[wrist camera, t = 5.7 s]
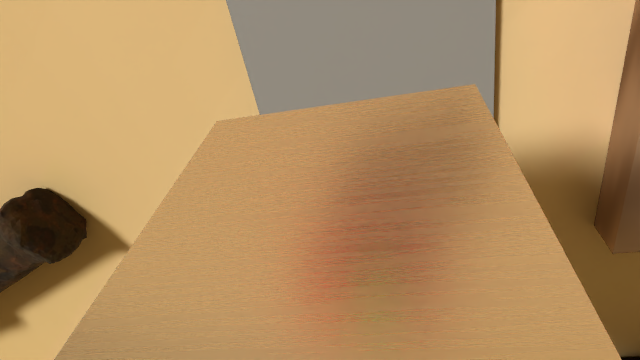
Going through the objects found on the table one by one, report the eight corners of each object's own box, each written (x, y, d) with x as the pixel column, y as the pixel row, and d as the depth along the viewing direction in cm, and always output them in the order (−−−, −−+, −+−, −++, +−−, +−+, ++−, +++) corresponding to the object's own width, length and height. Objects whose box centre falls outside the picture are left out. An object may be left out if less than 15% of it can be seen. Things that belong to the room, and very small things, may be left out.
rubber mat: (489, 187, 21) (491, 193, 20) (290, 206, 23) (289, 212, 22) (494, -105, 14) (498, -105, 14) (217, -44, 16) (213, -42, 16)
